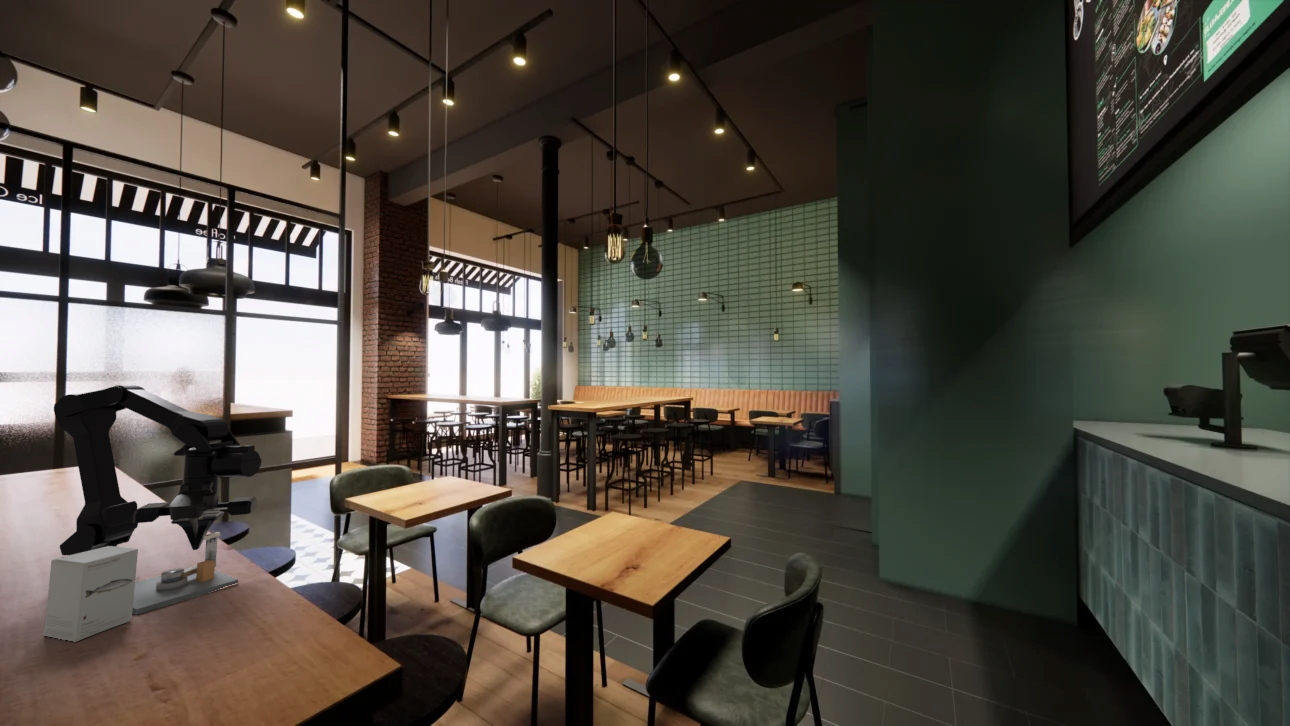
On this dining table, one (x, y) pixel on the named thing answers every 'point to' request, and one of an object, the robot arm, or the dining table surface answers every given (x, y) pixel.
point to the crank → (180, 573)
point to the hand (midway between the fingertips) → (196, 549)
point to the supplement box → (90, 592)
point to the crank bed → (178, 588)
